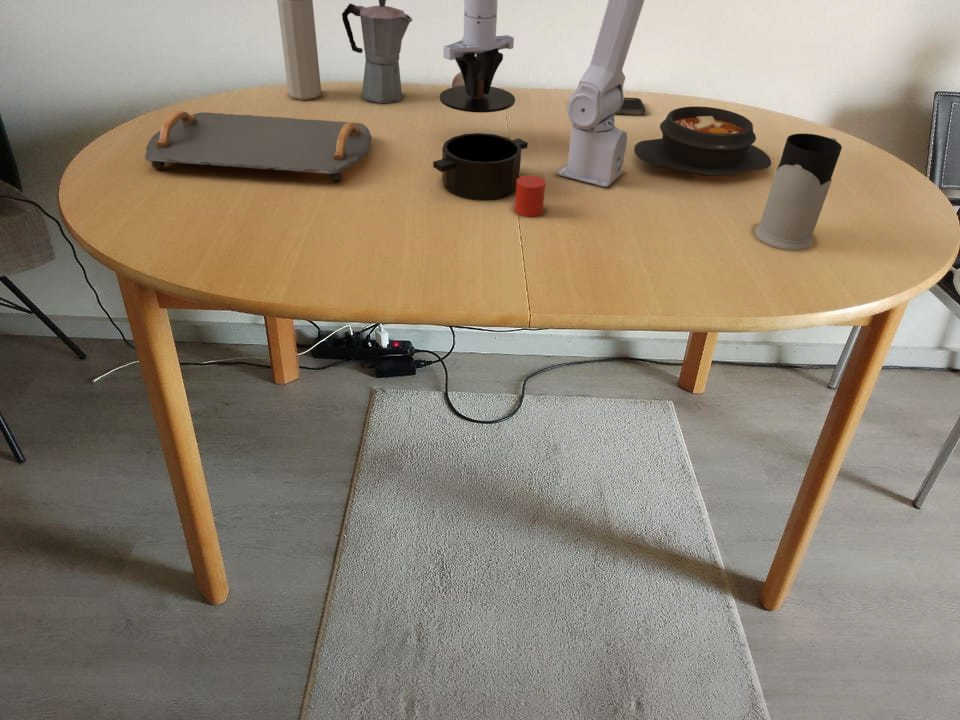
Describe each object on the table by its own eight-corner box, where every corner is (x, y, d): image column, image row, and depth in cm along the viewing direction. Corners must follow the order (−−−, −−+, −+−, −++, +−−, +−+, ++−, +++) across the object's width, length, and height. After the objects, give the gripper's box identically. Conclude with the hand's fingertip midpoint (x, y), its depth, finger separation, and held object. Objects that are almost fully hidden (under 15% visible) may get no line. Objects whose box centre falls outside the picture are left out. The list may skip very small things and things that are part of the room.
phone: (572, 95, 160) (640, 98, 160) (571, 100, 161) (639, 103, 161) (575, 107, 154) (646, 110, 154) (574, 112, 154) (645, 115, 155)
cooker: (545, 184, 125) (549, 148, 121) (461, 211, 116) (462, 173, 112) (497, 159, 133) (499, 125, 129) (415, 183, 124) (414, 146, 120)
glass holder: (744, 235, 113) (772, 142, 104) (783, 208, 121) (812, 118, 112) (799, 256, 108) (832, 159, 99) (835, 225, 117) (869, 134, 108)
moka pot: (408, 107, 153) (405, 4, 141) (339, 100, 156) (330, -2, 143) (420, 93, 161) (418, -6, 149) (353, 87, 163) (347, -12, 151)
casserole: (643, 184, 127) (652, 137, 122) (623, 143, 142) (630, 100, 136) (783, 187, 128) (798, 140, 123) (749, 146, 143) (761, 104, 138)
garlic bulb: (470, 88, 165) (471, 51, 160) (491, 97, 161) (492, 59, 156) (443, 94, 161) (444, 56, 156) (464, 103, 157) (465, 65, 152)
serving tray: (130, 173, 123) (120, 137, 119) (186, 125, 141) (179, 92, 137) (356, 189, 121) (353, 153, 117) (382, 138, 139) (381, 106, 135)
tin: (547, 208, 118) (550, 179, 115) (535, 219, 115) (537, 189, 112) (522, 201, 120) (524, 172, 117) (509, 212, 116) (511, 182, 113)
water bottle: (320, 102, 154) (307, -30, 139) (283, 100, 154) (266, -32, 139) (328, 88, 162) (316, -38, 146) (292, 86, 161) (277, -40, 146)
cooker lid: (530, 106, 134) (532, 82, 132) (470, 121, 127) (471, 96, 124) (482, 86, 143) (483, 63, 140) (424, 99, 136) (424, 74, 133)
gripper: (497, 5, 132) (494, 81, 140) (432, 14, 124) (433, 95, 133) (523, 13, 127) (518, 91, 136) (457, 23, 120) (456, 106, 128)
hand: (477, 94), depth 134 cm, fingers closed on cooker lid, 2 cm apart
